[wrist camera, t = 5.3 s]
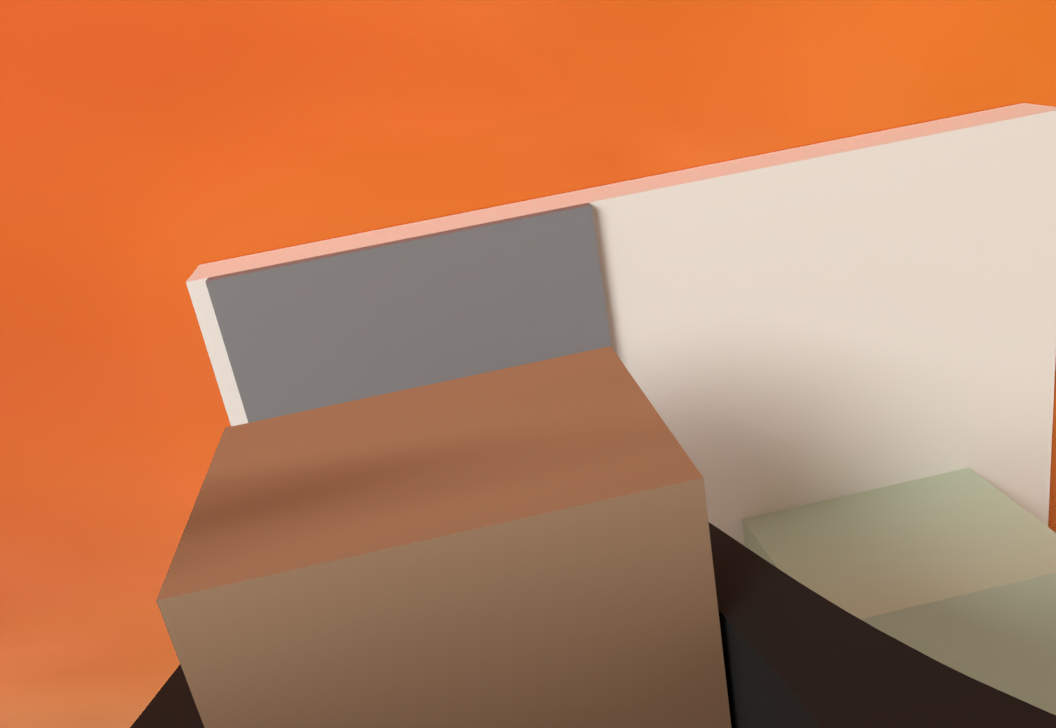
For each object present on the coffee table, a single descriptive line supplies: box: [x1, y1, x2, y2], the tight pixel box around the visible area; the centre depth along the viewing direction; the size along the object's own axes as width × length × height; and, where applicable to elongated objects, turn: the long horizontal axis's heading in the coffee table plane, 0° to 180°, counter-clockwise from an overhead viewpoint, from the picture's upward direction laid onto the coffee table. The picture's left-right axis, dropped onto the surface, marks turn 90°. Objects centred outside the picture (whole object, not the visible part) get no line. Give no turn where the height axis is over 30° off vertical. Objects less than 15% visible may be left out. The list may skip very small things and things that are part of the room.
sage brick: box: [742, 468, 1056, 715], centre depth 15 cm, size 6×4×3 cm
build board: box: [186, 103, 1056, 546], centre depth 17 cm, size 18×13×1 cm
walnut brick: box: [156, 346, 731, 728], centre depth 9 cm, size 6×4×3 cm
